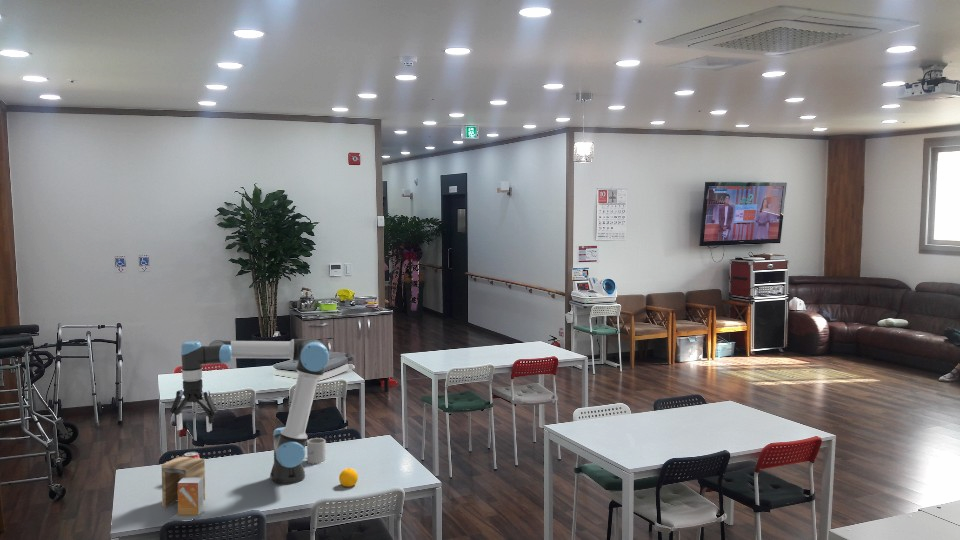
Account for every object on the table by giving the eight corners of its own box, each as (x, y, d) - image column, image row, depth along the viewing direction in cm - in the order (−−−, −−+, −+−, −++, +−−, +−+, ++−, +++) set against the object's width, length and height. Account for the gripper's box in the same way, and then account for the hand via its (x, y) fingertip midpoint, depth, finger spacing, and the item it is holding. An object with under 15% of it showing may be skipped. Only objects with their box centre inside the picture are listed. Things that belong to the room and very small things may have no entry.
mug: (327, 462, 356) (327, 441, 355) (309, 465, 352) (309, 444, 352) (321, 455, 367) (320, 435, 366) (303, 457, 363) (303, 437, 363)
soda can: (194, 483, 327) (193, 456, 326) (179, 482, 328) (179, 455, 327) (203, 478, 334) (202, 451, 333) (189, 477, 335) (188, 450, 334)
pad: (204, 513, 293) (204, 511, 293) (190, 522, 285) (190, 520, 285) (185, 510, 296) (184, 509, 296) (170, 519, 287) (170, 518, 287)
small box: (177, 515, 289) (176, 482, 288) (183, 509, 296) (182, 477, 295) (198, 515, 290) (198, 482, 289) (204, 509, 296) (203, 476, 295)
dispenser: (205, 499, 308) (204, 458, 306) (187, 510, 296) (186, 467, 295) (180, 497, 311) (179, 456, 309) (161, 507, 299) (160, 465, 298)
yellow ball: (351, 480, 331) (350, 464, 330) (361, 485, 325) (361, 468, 325) (335, 485, 325) (335, 468, 325) (346, 490, 319) (345, 472, 319)
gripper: (225, 378, 306) (226, 429, 308) (170, 376, 312) (173, 426, 313) (214, 382, 299) (216, 434, 300) (159, 380, 304) (161, 431, 306)
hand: (194, 430), depth 307 cm, fingers open, 13 cm apart
